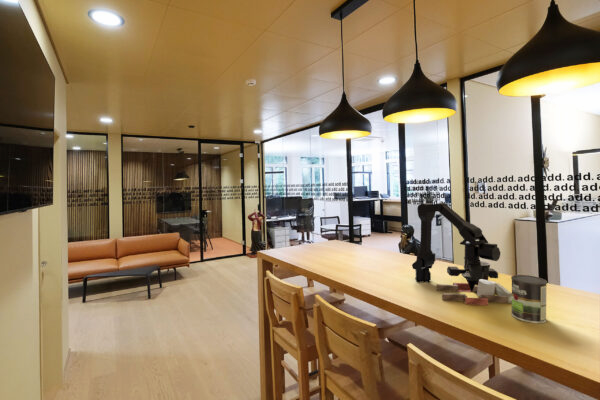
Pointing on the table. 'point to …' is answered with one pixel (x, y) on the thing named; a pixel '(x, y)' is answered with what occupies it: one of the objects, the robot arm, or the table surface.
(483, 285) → the white cube
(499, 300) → the trap lane
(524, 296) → the coffee can
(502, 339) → the table surface
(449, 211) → the robot arm
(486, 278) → the coffee mug
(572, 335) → the table surface
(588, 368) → the table surface
